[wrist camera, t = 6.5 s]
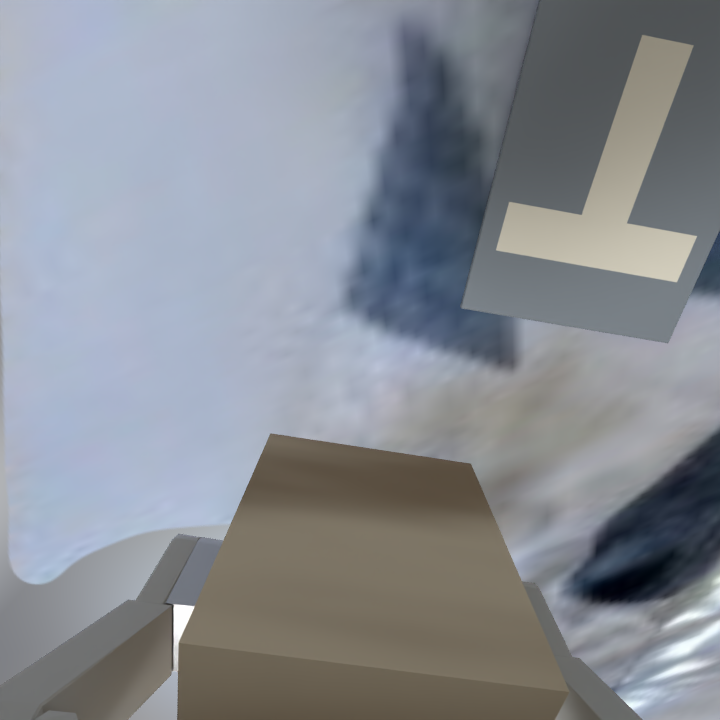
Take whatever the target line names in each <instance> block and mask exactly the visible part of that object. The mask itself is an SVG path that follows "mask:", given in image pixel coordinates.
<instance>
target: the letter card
mask: <svg viewBox="0 0 720 720" xmlns="http://www.w3.org/2000/svg"><path fill="white" fill-rule="evenodd" d="M719 230H720V0H539V3H538V7H537V11H536V15H535V19H534V23H533V27H532V31H531V35H530V38H529V42H528V46H527V50H526V54H525V58H524V62H523V66H522V69H521V73H520V77H519V81H518V85H517V89H516V93H515V97H514V100H513V104H512V108H511V112H510V116H509V120H508V124H507V128H506V131H505V135H504V139H503V143H502V147H501V151H500V155H499V159H498V162H497V166H496V170H495V174H494V178H493V182H492V186H491V190H490V194H489V197H488V201H487V205H486V209H485V213H484V217H483V221H482V225H481V228H480V232H479V236H478V240H477V244H476V248H475V252H474V256H473V259H472V263H471V267H470V271H469V275H468V279H467V283H466V287H465V290H464V294H463V298H462V302H461V306H460V307H461V308H463V309H469V310H475V311H481V312H487V313H492V314H498V315H504V316H510V317H516V318H522V319H528V320H534V321H540V322H546V323H552V324H557V325H563V326H569V327H575V328H581V329H587V330H593V331H599V332H605V333H611V334H616V335H622V336H628V337H634V338H640V339H646V340H652V341H658V342H664V343H668V342H669V340H670V338H671V336H672V333H673V331H674V329H675V327H676V325H677V322H678V320H679V318H680V316H681V314H682V311H683V309H684V307H685V305H686V303H687V300H688V298H689V296H690V294H691V292H692V290H693V287H694V285H695V283H696V281H697V279H698V276H699V274H700V272H701V270H702V268H703V265H704V263H705V261H706V259H707V257H708V254H709V252H710V250H711V248H712V246H713V243H714V241H715V239H716V237H717V235H718V232H719Z"/></svg>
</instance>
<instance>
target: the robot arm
mask: <svg viewBox="0 0 720 720" xmlns="http://www.w3.org/2000/svg"><path fill="white" fill-rule="evenodd" d="M222 543H223V541H222V540H216V539H210V538H204V537H196V536H189V535H183V534H178V535H177V536H176V537H175V538H174V539H172V541H171V543H170V544H169V546H168V548H167V549H166V551H165V553H164V554H163V556H162V558H161V559H160V561H159V563H158V564H157V566H156V568H155V569H154V571H153V573H152V574H151V576H150V578H149V579H148V581H147V582H146V584H145V586H144V588H143V589H142V591H141V592H140V594H139V596H138V597H137V599H136V600H127V601H125V602H124V603H122V604H121V605H119V606H118V607H116V608H115V609H113V610H112V611H111V612H109V613H107V614H106V615H105V616H103V617H102V618H100V619H99V620H97V621H96V622H94V623H93V624H91V625H90V626H88V627H87V628H85V629H84V630H82V631H81V632H79V633H78V634H76V635H75V636H73V637H72V638H70V639H69V640H67V641H66V642H64V643H63V644H61V645H60V646H58V647H57V648H55V649H54V650H52V651H51V652H49V653H48V654H46V655H45V656H43V657H42V658H40V659H39V660H37V661H36V662H34V663H33V664H31V665H30V666H29V667H27V668H25V669H24V670H22V671H21V672H19V673H18V674H16V675H15V676H13V677H12V678H11V679H9V680H7V681H6V682H4V683H3V684H2V685H0V720H128V719H129V718H130V717H131V716H132V715H133V714H134V713H135V712H136V711H137V709H139V707H141V705H142V704H143V703H144V702H145V701H146V700H147V699H148V698H149V697H150V696H151V695H152V694H153V693H154V692H155V691H156V690H157V689H158V688H159V687H160V686H161V685H162V684H163V683H164V682H165V681H166V680H167V679H168V678H169V677H170V676H171V672H172V671H174V672H178V643H179V641H180V638H181V636H182V634H183V631H184V629H185V627H186V625H187V622H188V620H189V618H190V616H191V613H192V611H193V609H194V606H195V604H196V602H197V600H198V597H199V595H200V593H201V591H202V588H203V586H204V584H205V581H206V579H207V577H208V575H209V572H210V570H211V568H212V566H213V563H214V561H215V559H216V556H217V554H218V552H219V550H220V547H221V545H222ZM522 583H523V585H524V588H525V590H526V592H527V595H528V597H529V599H530V601H531V604H532V606H533V608H534V611H535V613H536V615H537V618H538V620H539V622H540V625H541V627H542V629H543V631H544V634H545V636H546V638H547V641H548V643H549V645H550V648H551V650H552V652H553V655H554V657H555V659H556V661H557V664H558V666H559V668H560V671H561V673H562V675H563V678H564V680H565V682H566V685H567V687H568V689H569V691H570V692H569V694H568V696H567V698H566V700H565V702H564V704H563V706H562V707H561V709H560V711H559V713H558V715H557V717H556V719H555V720H642V719H641V718H640V717H639V716H638V715H637V714H636V713H635V712H634V711H633V710H632V709H631V708H630V707H629V706H628V705H627V704H626V703H625V702H624V701H623V700H622V699H621V698H620V697H619V696H618V695H617V694H616V693H615V692H614V691H613V690H612V689H611V688H610V687H608V686H607V685H606V684H605V683H604V682H603V681H602V680H601V679H600V678H599V677H598V676H597V675H596V674H595V673H594V672H593V671H592V670H591V669H590V668H589V667H588V666H587V665H586V664H585V663H584V662H583V661H582V660H581V659H580V658H575V657H572V655H571V653H570V651H569V649H568V647H567V645H566V643H565V641H564V639H563V637H562V635H561V632H560V630H559V628H558V626H557V624H556V622H555V620H554V618H553V616H552V614H551V612H550V610H549V608H548V606H547V603H546V601H545V599H544V597H543V595H542V593H541V591H540V589H539V587H538V586H537V585H536V584H535V583H530V582H523V581H522Z"/></svg>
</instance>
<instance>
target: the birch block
mask: <svg viewBox="0 0 720 720" xmlns="http://www.w3.org/2000/svg"><path fill="white" fill-rule="evenodd" d="M569 692H570V691H569V689H568V687H567V685H566V682H565V680H564V678H563V675H562V673H561V671H560V668H559V666H558V664H557V661H556V659H555V657H554V655H553V652H552V650H551V648H550V645H549V643H548V641H547V638H546V636H545V634H544V631H543V629H542V627H541V625H540V622H539V620H538V618H537V615H536V613H535V611H534V608H533V606H532V604H531V601H530V599H529V597H528V595H527V592H526V590H525V588H524V585H523V583H522V581H521V578H520V576H519V574H518V572H517V569H516V567H515V565H514V562H513V560H512V558H511V555H510V553H509V551H508V548H507V546H506V544H505V542H504V539H503V537H502V535H501V532H500V530H499V528H498V525H497V523H496V521H495V518H494V516H493V514H492V512H491V509H490V507H489V505H488V502H487V500H486V498H485V495H484V493H483V491H482V489H481V486H480V484H479V482H478V479H477V477H476V475H475V472H474V470H473V468H472V465H471V464H469V463H462V462H456V461H449V460H443V459H436V458H429V457H423V456H416V455H409V454H403V453H396V452H390V451H383V450H376V449H370V448H363V447H356V446H350V445H343V444H337V443H330V442H323V441H317V440H310V439H303V438H297V437H290V436H284V435H277V434H270V436H269V438H268V440H267V443H266V445H265V447H264V450H263V452H262V454H261V456H260V459H259V461H258V463H257V465H256V468H255V470H254V472H253V475H252V477H251V479H250V481H249V484H248V486H247V488H246V490H245V493H244V495H243V497H242V500H241V502H240V504H239V506H238V509H237V511H236V513H235V516H234V518H233V520H232V522H231V525H230V527H229V529H228V532H227V534H226V536H225V538H224V541H223V543H222V545H221V547H220V550H219V552H218V554H217V556H216V559H215V561H214V563H213V566H212V568H211V570H210V572H209V575H208V577H207V579H206V581H205V584H204V586H203V588H202V591H201V593H200V595H199V597H198V600H197V602H196V604H195V606H194V609H193V611H192V613H191V616H190V618H189V620H188V622H187V625H186V627H185V629H184V631H183V634H182V636H181V638H180V641H179V643H178V714H177V715H178V716H177V720H555V719H556V717H557V715H558V713H559V711H560V709H561V707H562V706H563V704H564V702H565V700H566V698H567V696H568V694H569Z"/></svg>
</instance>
